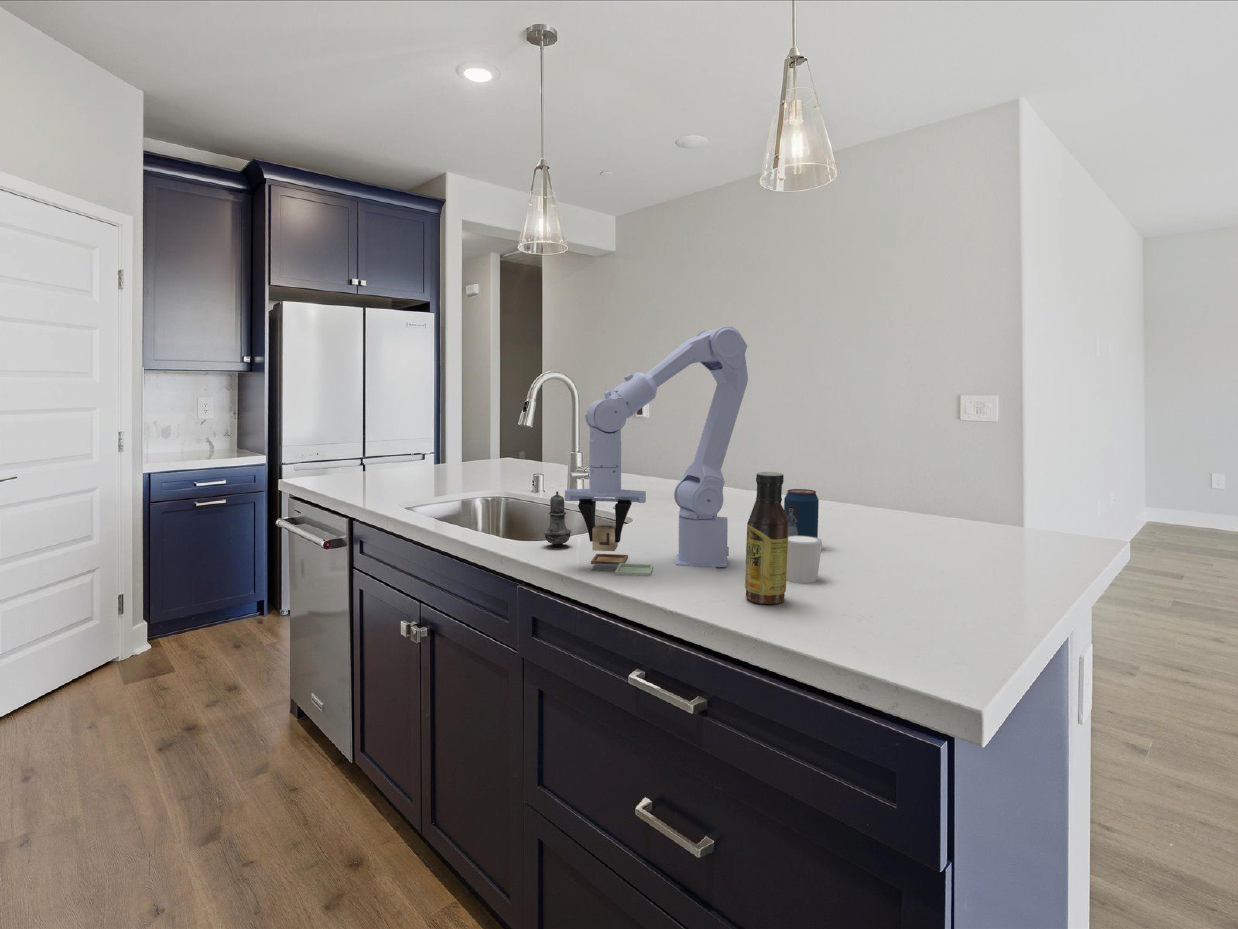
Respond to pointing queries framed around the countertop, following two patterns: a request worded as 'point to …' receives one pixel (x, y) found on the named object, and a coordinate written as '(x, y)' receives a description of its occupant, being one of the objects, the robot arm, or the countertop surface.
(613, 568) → the slate mat
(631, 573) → the stoneware dish
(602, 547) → the letter cube
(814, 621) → the countertop surface
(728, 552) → the robot arm
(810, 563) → the white tapered cylinder
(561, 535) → the salt shaker
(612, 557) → the walnut dish
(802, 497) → the soda can
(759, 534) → the sauce bottle
